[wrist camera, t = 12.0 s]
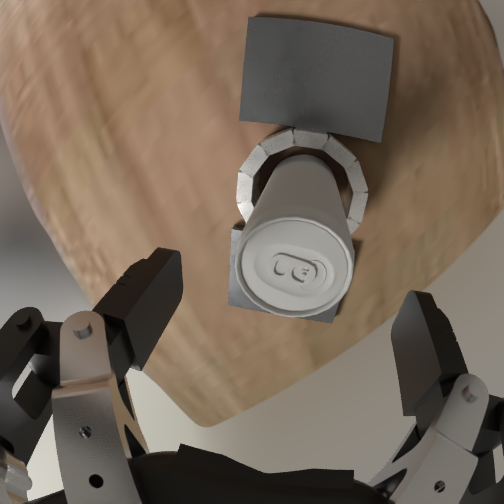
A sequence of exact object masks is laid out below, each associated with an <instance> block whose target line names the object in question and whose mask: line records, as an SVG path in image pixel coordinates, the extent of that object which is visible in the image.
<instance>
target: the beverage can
mask: <svg viewBox="0 0 504 504" xmlns="http://www.w3.org/2000/svg"><path fill="white" fill-rule="evenodd" d="M354 255H355V254H354V248H353V244H352V240H351V236H350V232H349V228H348V224H347V220H346V216H345V212H344V209H343V205H342V201H341V198H340V194H339V191H338V187H337V184H336V180H335V177H334V174H333V172H332V170H331V169H330V167H329V166H328V165H327V164H326V163H325V162H324V161H323V160H321V159H319V158H317V157H315V156H312V155H295V156H292V157H288V158H286V159H284V160H283V161H281V162H280V163H279V164H278V165H277V166H276V168H275V169H274V171H273V173H272V175H271V177H270V179H269V181H268V182H267V184H266V186H265V188H264V190H263V192H262V194H261V196H260V198H259V200H258V202H257V204H256V206H255V208H254V209H253V211H252V213H251V215H250V217H249V219H248V221H247V223H246V225H245V227H244V229H243V231H242V233H241V236H240V238H239V240H238V243H237V249H236V258H235V271H236V276H237V280H238V282H239V284H240V286H241V288H242V290H243V292H244V293H245V294H246V295H247V296H248V297H249V298H250V299H251V301H253V302H254V303H255V304H257V305H258V306H260V307H261V308H262V309H264V310H267V311H269V312H271V313H274V314H276V315H281V316H286V317H306V316H311V315H316V314H319V313H321V312H323V311H325V310H328V309H330V308H331V307H332V306H333V305H335V304H336V303H337V302H339V301H340V300H341V298H342V297H343V296H344V294H345V293H346V292H347V290H348V288H349V286H350V283H351V280H352V277H353V269H354Z"/></svg>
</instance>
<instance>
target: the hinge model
mask: <svg viewBox="0 0 504 504" xmlns="http://www.w3.org/2000/svg"><path fill="white" fill-rule="evenodd" d="M393 45H394V39H393V38H390V37H386V36H382V35H379V34H375V33H371V32H367V31H363V30H358V29H354V28H349V27H344V26H338V25H333V24H327V23H320V22H313V21H305V20H296V19H285V18H270V17H249V18H248V28H247V38H246V48H245V59H244V70H243V81H242V93H241V105H240V117H239V120H240V121H251V122H261V123H270V124H279V125H287V126H293V127H290V128H288V129H285V130H282V131H280V132H277V133H275V134H273V135H270V136H268V137H266V138H265V139H263V140H262V141H261V142H260V143H259V144H258V145H257V146H256V147H255V149H254V150H253V151H252V153H251V154H250V155H249V157H248V158H247V160H246V161H245V162H244V164H243V165H242V167H241V168H240V169H239V170H240V171H239V172H238V185H237V200H236V202H238V204H237V206H238V208H239V210H240V212H241V214H242V216H243V218H244V220H245V222H246V223H247V221H248V219H249V217H250V215H251V213H252V211H253V209H254V208H255V206H256V204H257V202H258V200H259V198H260V196H261V193H260V191H259V179H260V168H261V165H262V164H263V163H264V161H265V160H266V159H267V158H268V156H269V155H272V154H274V153H277V152H279V151H282V150H284V149H287V148H290V147H292V146H302V147H308V148H314V149H320V150H324V151H325V152H326V153H327V154H329V155H330V156H331V157H332V158H334V159H335V160H336V161H337V162H338V163H340V164H341V165H342V166H343V168H344V170H345V173H346V176H347V179H348V184H347V189H346V194H345V199H344V203H343V204H342V205H343V209H344V212H345V216H346V220H347V224H348V228H349V232H350V235H351V234H352V233H353V232H354V231H355V230H356V229H357V228H358V227H359V226H360V223H361V222H362V219H363V215H364V211H365V206H366V202H367V198H368V192H367V191H368V188H367V185H366V182H365V179H364V176H363V173H362V170H361V167H360V164H359V161H358V159H357V158H356V157H355V155H354V154H353V153H352V152H351V150H350V149H348V148H347V147H346V146H345V145H344V144H342V143H341V142H340V141H339V140H338V139H336V138H335V137H334V136H333V135H331V134H330V133H329V132H331V133H336V134H341V135H346V136H351V137H356V138H360V139H365V140H369V141H374V142H378V143H381V140H382V134H383V128H384V122H385V115H386V109H387V102H388V94H389V86H390V78H391V68H392V57H393ZM294 127H295V128H294ZM359 222H360V223H359ZM243 229H244V227H243V226H237V225H234V227H233V228H232V237H231V256H230V276H229V298H228V305H230V306H235V307H240V308H245V309H250V310H256V311H261V312H267V313H271V312H269V311H267V310H264V309H262V308H261V307H260V306H258V305H257V304H255V303H254V302H253V301H251V299H250V298H249V297H248V296H247V295H246V294H245V293H244V292H243V290H242V288H241V286H240V284H239V282H238V280H237V276H236V271H235V258H236V249H237V243H238V240H239V238H240V236H241V233H242V231H243ZM353 248H354V254H355V251H356V249H355V245H353ZM339 302H340V301H339ZM339 302H337V303H336V304H335V305H333V306H332V307H331V308H330V309H328V310H325V311H323V312H321V313H319V314H316V315H311V316H306V317H295V318H301V319H307V320H314V321H320V322H327V323H332V322H333V320H334V317H335V314H336V311H337V308H338V305H339ZM272 314H274V313H272Z"/></svg>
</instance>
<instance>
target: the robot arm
mask: <svg viewBox="0 0 504 504" xmlns="http://www.w3.org/2000/svg"><path fill="white" fill-rule="evenodd" d="M182 294H183V278H182V264H181V254H180V252H179V251H177V250H171V249H166V248H160V247H158V248H157V249H156V250H155V251H154V252H153V253H152V254H151V255H150V256H149V258H148V259H141V260H140V261H138V262H136V263H134V264H133V265H131V266H130V267H129V268H128V269H127V270H126V271H125V273H124V274H123V276H121V277H120V278H119V279H118V280H117V282H116V284H114V285H113V286H112V287H111V289H110V290H109V291H108V292H107V293H106V294H105V296H104V297H103V298H102V299H101V300H100V301H99V303H98V304H97V305H96V306H95V307H94V309H93V310H92V311H80V312H77V313H75V314H73V315H71V316H70V317H68V318H67V319H66V320H65V321H64V322H50V321H44V318H43V316H42V314H41V312H40V311H39V310H38V309H37V308H34V307H26V308H22V309H20V310H18V311H17V312H15V313H14V314H13V315H12V316H11V317H10V318H9V320H8V321H7V322H6V323H5V324H4V326H3V327H2V328H1V329H0V504H504V476H503V478H502V479H501V480H500V481H499V482H498V483H496V480H495V468H494V458H493V449H495V448H496V447H497V446H499V445H500V444H502V448H503V455H504V398H500V397H497V396H493V395H490V394H489V393H488V390H487V387H486V386H485V384H484V382H483V381H482V380H481V379H480V378H478V377H477V376H475V375H473V374H469V373H468V370H467V367H466V364H465V361H464V358H463V356H462V352H461V350H460V347H459V344H458V342H456V337H455V334H454V332H453V329H452V327H451V324H450V322H449V320H448V318H447V317H446V316H445V314H444V313H443V312H442V311H441V310H440V309H439V308H437V306H436V304H435V301H434V299H433V297H432V295H431V294H430V293H427V292H420V291H414V290H411V291H409V293H408V294H407V296H406V298H405V300H404V302H403V304H402V307H401V309H400V311H399V313H398V315H397V317H396V319H395V321H394V323H393V326H392V330H391V341H392V346H393V351H394V356H395V362H396V367H397V373H398V379H399V386H400V393H401V400H402V408H403V416H416V422H415V423H414V424H413V425H412V427H411V428H410V430H409V431H408V433H407V434H406V436H405V437H404V439H403V441H402V442H401V444H400V445H399V447H398V448H397V449H396V451H395V452H394V454H393V455H392V457H391V458H390V459H389V461H388V462H387V463H386V465H385V466H384V467H383V468H382V469H381V470H380V471H379V472H378V473H377V474H376V475H375V476H374V477H373V478H372V479H371V480H370V481H369V482H368V483H367V484H365V483H363V482H360V481H358V480H355V479H354V470H329V469H307V470H299V471H291V472H282V473H263V472H261V471H258V470H256V469H253V468H251V467H248V466H246V465H244V464H242V463H239V462H237V461H235V460H233V459H231V458H229V457H227V456H224V455H222V454H217V453H214V452H209V451H205V450H202V449H198V448H194V447H191V446H188V445H184V444H180V446H179V449H178V452H176V451H164V452H163V451H162V452H155V453H150V452H149V449H148V446H147V443H146V441H145V439H144V436H143V434H142V432H141V430H140V427H139V424H138V421H137V417H136V414H135V410H134V407H133V403H132V399H131V395H130V391H129V387H128V383H127V378H126V376H125V375H126V373H127V371H128V370H129V368H133V369H135V370H138V371H142V369H143V367H144V365H145V364H146V362H147V360H148V358H149V356H150V355H151V353H152V351H153V349H154V347H155V346H156V344H157V342H158V340H159V338H160V337H161V335H162V333H163V331H164V330H165V328H166V326H167V324H168V323H169V321H170V319H171V317H172V316H173V314H174V312H175V310H176V309H177V307H178V305H179V303H180V301H181V298H182ZM27 364H28V365H29V367H30V368H31V369H32V371H31V372H30V374H29V375H28V377H27V378H26V380H25V381H24V383H23V385H22V386H21V388H20V390H19V391H18V393H17V395H16V397H15V398H14V399H13V397H12V388H13V386H14V384H15V382H16V381H17V379H18V378H19V376H20V374H21V373H22V371H23V370H24V368H25V367H26V365H27ZM52 413H53V423H54V432H55V440H56V448H57V455H58V460H59V466H60V472H61V477H62V481H63V486H64V489H63V490H61V491H58V492H55V493H53V494H50V495H47V496H44V497H41V498H38V499H35V500H32V501H28V498H27V490H30V489H31V487H32V481H31V478H30V477H29V476H28V471H27V469H26V467H27V464H28V462H29V460H30V458H31V456H32V453H33V451H34V449H35V447H36V445H37V443H38V441H39V439H40V437H41V435H42V433H43V431H44V429H45V427H46V425H47V423H48V421H49V419H50V417H51V415H52Z"/></svg>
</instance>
